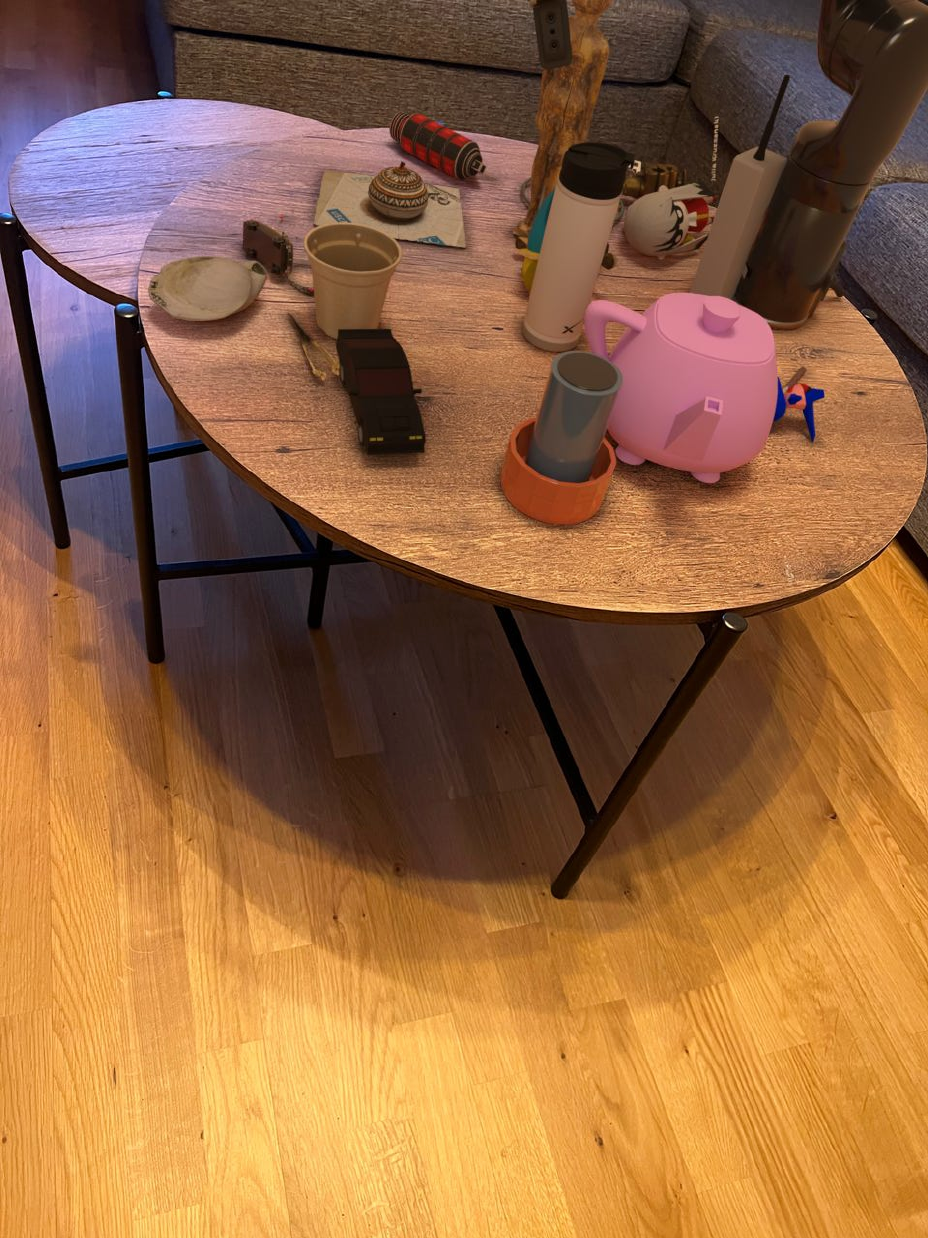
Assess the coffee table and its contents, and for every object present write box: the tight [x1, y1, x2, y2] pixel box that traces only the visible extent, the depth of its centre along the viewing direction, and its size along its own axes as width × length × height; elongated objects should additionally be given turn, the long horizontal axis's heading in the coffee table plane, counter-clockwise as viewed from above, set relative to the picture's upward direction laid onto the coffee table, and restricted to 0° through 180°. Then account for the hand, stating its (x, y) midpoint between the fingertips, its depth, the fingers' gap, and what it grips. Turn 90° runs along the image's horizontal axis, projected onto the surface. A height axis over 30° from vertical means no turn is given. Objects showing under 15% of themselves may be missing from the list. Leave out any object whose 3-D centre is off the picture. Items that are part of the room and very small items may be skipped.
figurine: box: [773, 376, 826, 443], centre depth 100 cm, size 5×8×5 cm, turn 86°
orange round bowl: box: [500, 416, 617, 526], centre depth 87 cm, size 9×9×4 cm
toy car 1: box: [241, 214, 294, 275], centre depth 106 cm, size 4×12×8 cm
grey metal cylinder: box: [525, 350, 623, 483], centre depth 84 cm, size 6×6×12 cm
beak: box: [286, 311, 340, 382], centre depth 96 cm, size 12×3×1 cm, turn 24°
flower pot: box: [303, 222, 403, 340], centre depth 97 cm, size 9×9×9 cm
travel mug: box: [521, 141, 636, 353], centre depth 98 cm, size 6×7×20 cm
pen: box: [782, 365, 808, 393], centre depth 105 cm, size 11×1×1 cm, turn 146°
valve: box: [621, 162, 688, 198], centre depth 129 cm, size 7×15×5 cm, turn 89°
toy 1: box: [514, 189, 621, 295], centre depth 110 cm, size 13×12×15 cm
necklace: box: [285, 263, 314, 297], centre depth 104 cm, size 4×6×1 cm
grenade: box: [388, 110, 497, 181], centre depth 126 cm, size 6×5×15 cm
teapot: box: [583, 292, 779, 484], centre depth 89 cm, size 20×20×15 cm
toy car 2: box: [335, 328, 427, 456], centre depth 90 cm, size 7×16×5 cm, turn 15°
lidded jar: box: [313, 160, 467, 248], centre depth 116 cm, size 15×18×7 cm
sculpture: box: [512, 0, 613, 237], centre depth 107 cm, size 7×6×30 cm
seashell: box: [147, 255, 268, 322], centre depth 96 cm, size 12×8×5 cm
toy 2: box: [623, 116, 719, 260], centre depth 119 cm, size 15×10×15 cm
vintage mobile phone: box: [689, 74, 791, 300], centre depth 107 cm, size 4×5×25 cm
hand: (556, 54), depth 70 cm, fingers open, 8 cm apart
